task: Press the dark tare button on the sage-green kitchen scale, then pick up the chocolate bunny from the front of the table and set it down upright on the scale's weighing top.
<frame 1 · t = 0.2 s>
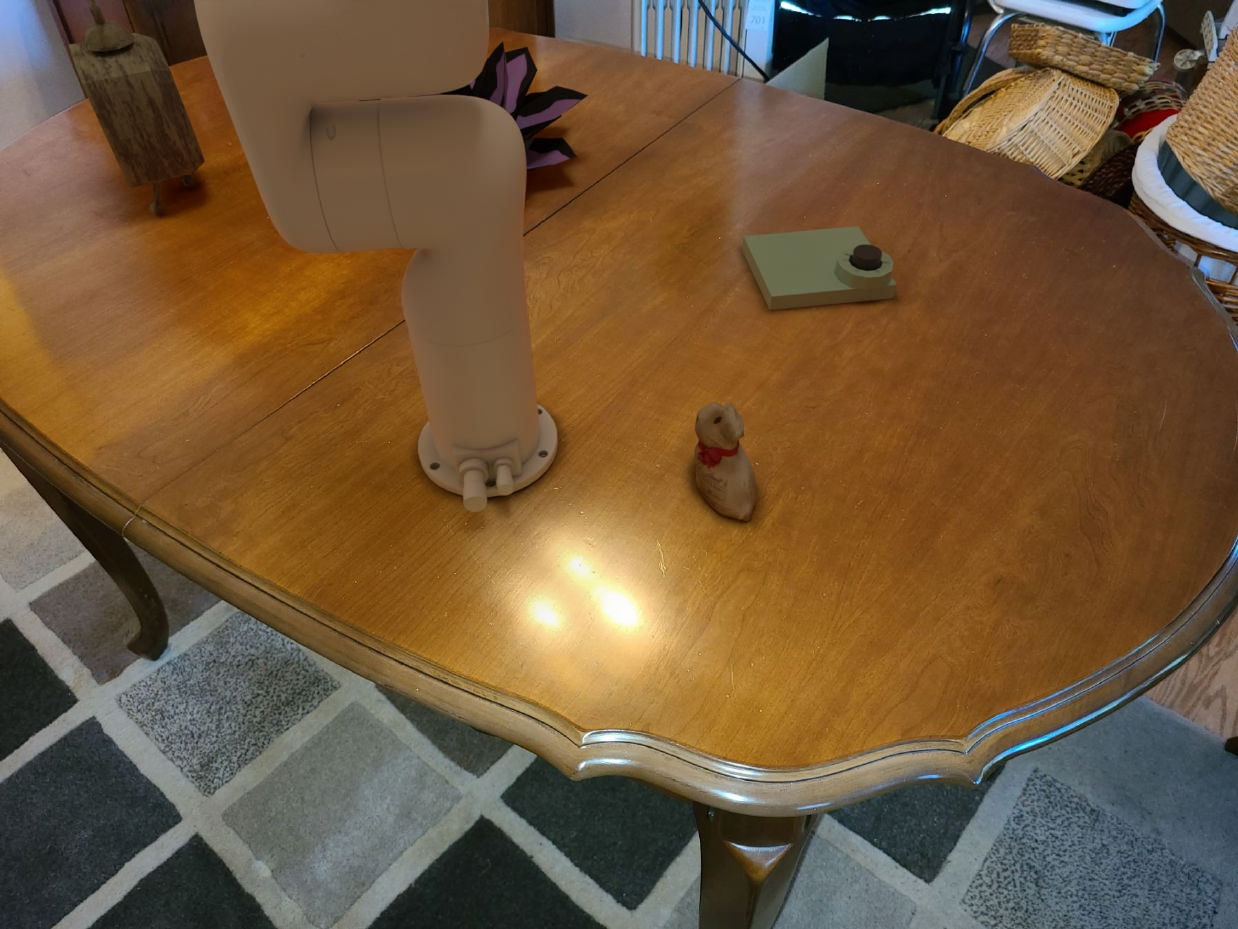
chocolate bunny: (722, 488, 74), on the table
tare button: (866, 257, 91), point 4 cm above the table, slide at 0.1 cm
decorative flower: (469, 162, 114), on the table
scale: (814, 273, 96), on the table
tabletop clock: (175, 191, 109), on the table
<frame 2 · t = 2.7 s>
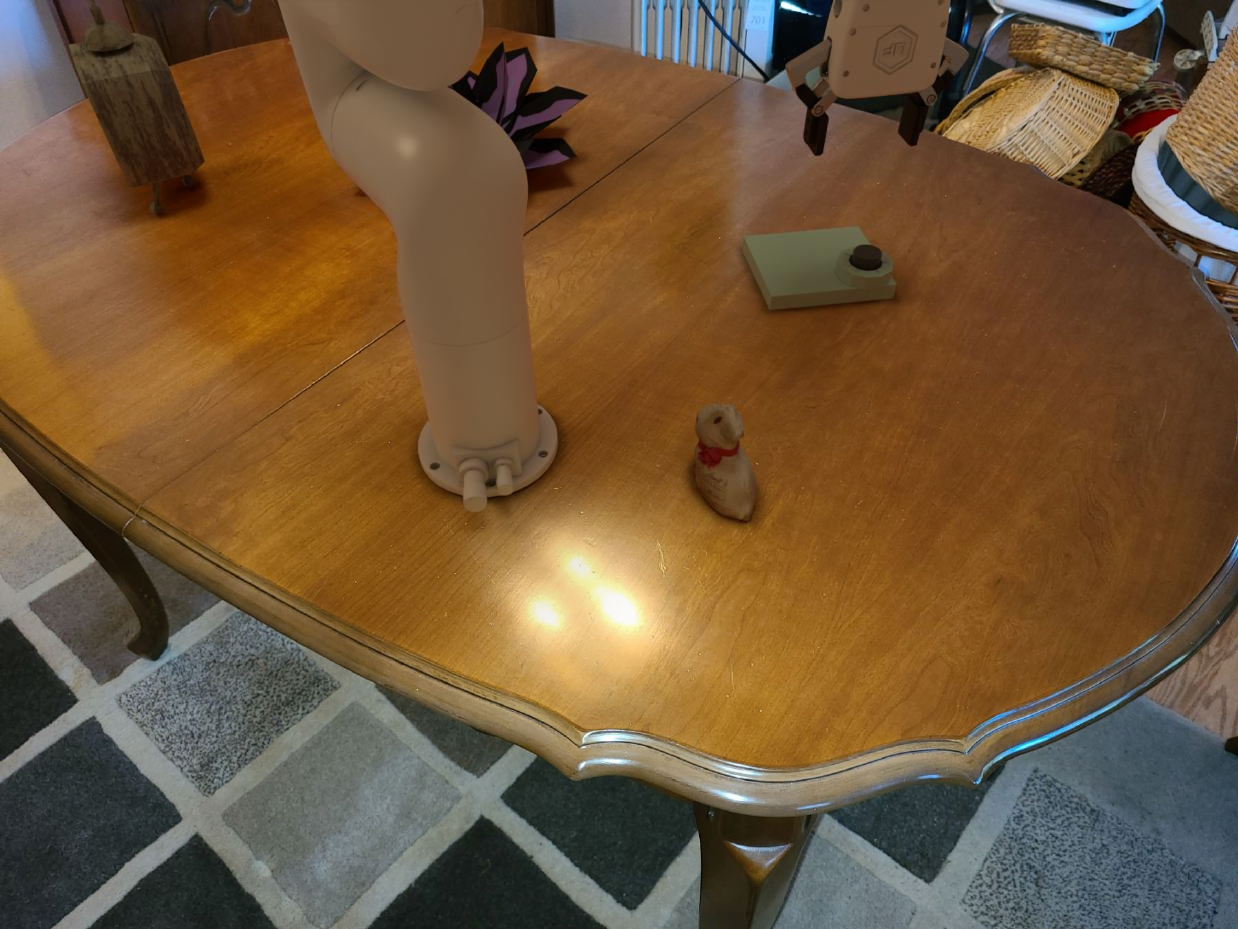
hand: (860, 144, 83), 16 cm above the table, tool pointing down, fingers open, 9 cm apart
nothing on the table moved.
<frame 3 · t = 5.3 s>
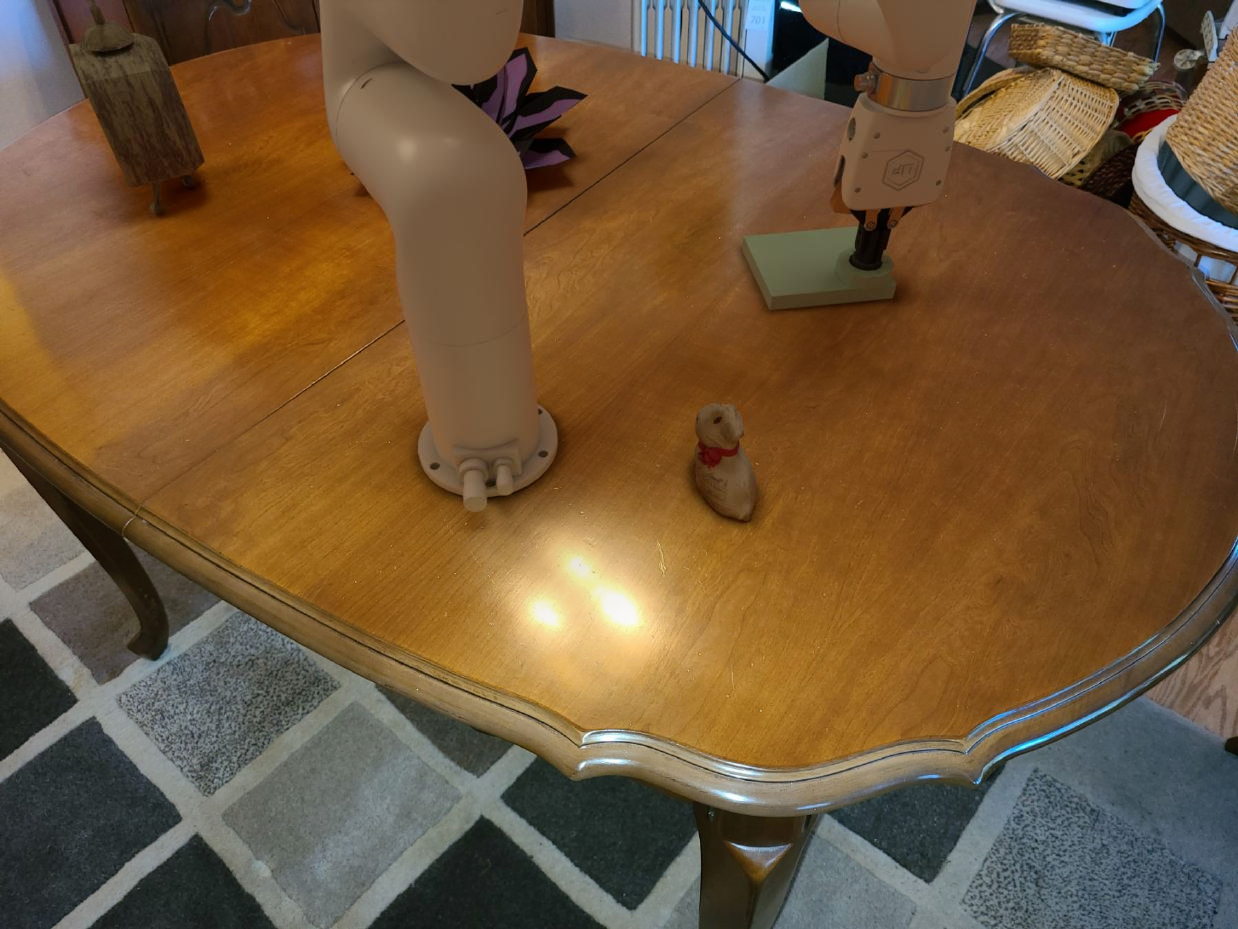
hand: (868, 255, 91), 4 cm above the table, tool pointing down, fingers closed
tare button: (865, 262, 91), point 3 cm above the table, slide at -0.4 cm, touching gripper
everything else where it was.
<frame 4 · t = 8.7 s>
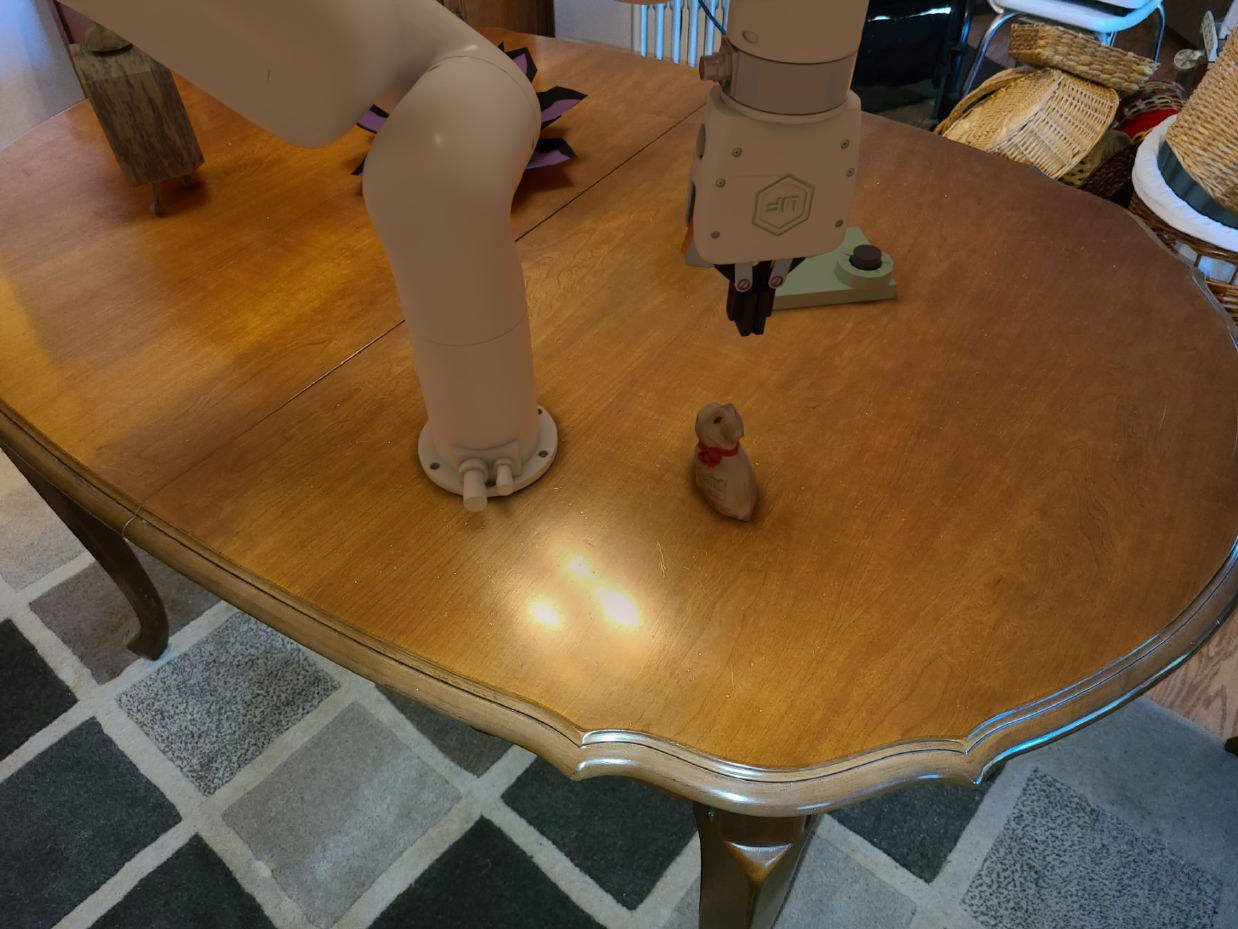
hand: (746, 323, 62), 17 cm above the table, tool pointing down, fingers closed
tare button: (866, 258, 91), point 4 cm above the table, slide at 0.1 cm
everything else where it was.
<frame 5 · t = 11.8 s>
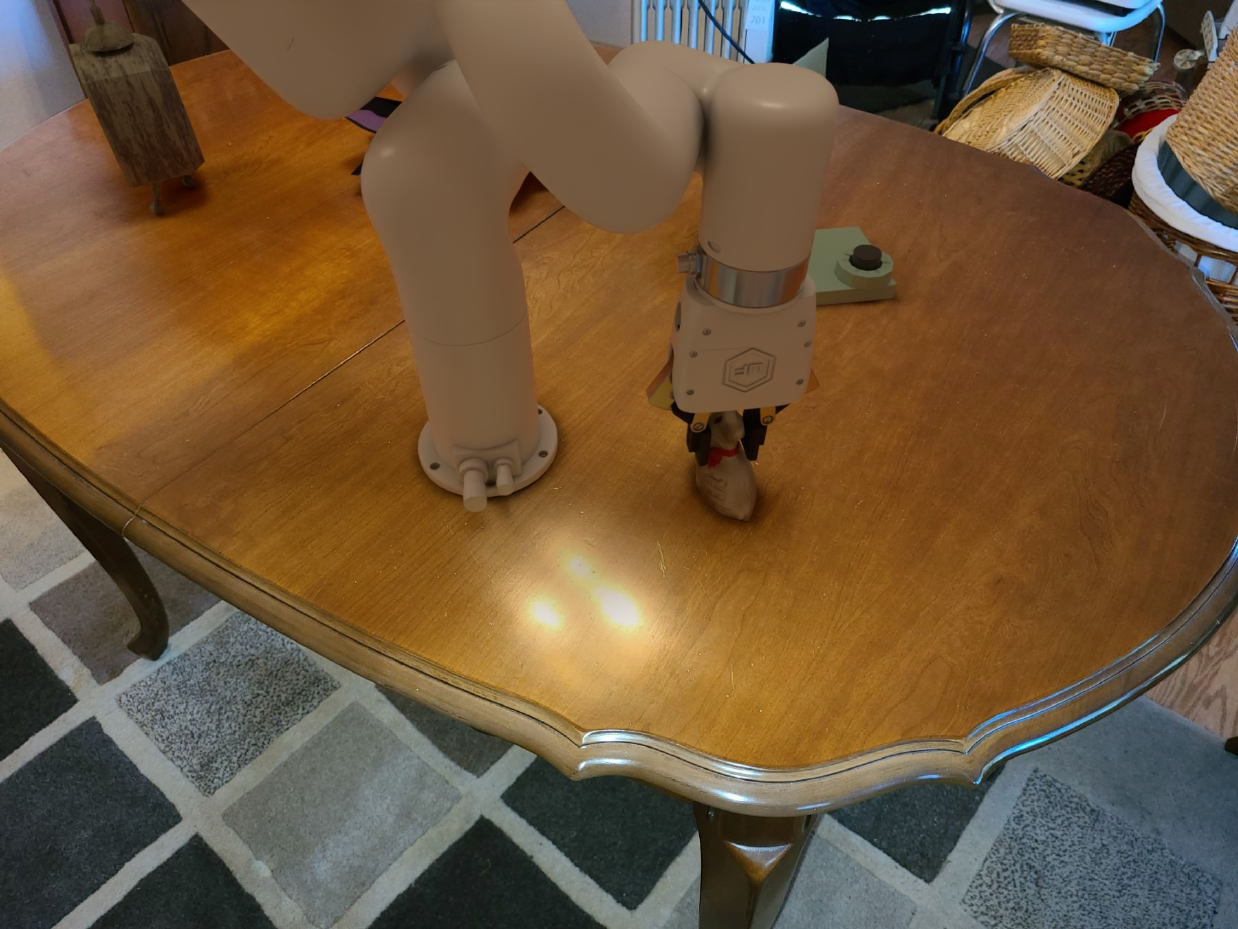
hand: (723, 450, 70), 5 cm above the table, tool pointing down, fingers closed on chocolate bunny, 3 cm apart
chocolate bunny: (722, 488, 74), on the table, touching gripper
everything else where it was.
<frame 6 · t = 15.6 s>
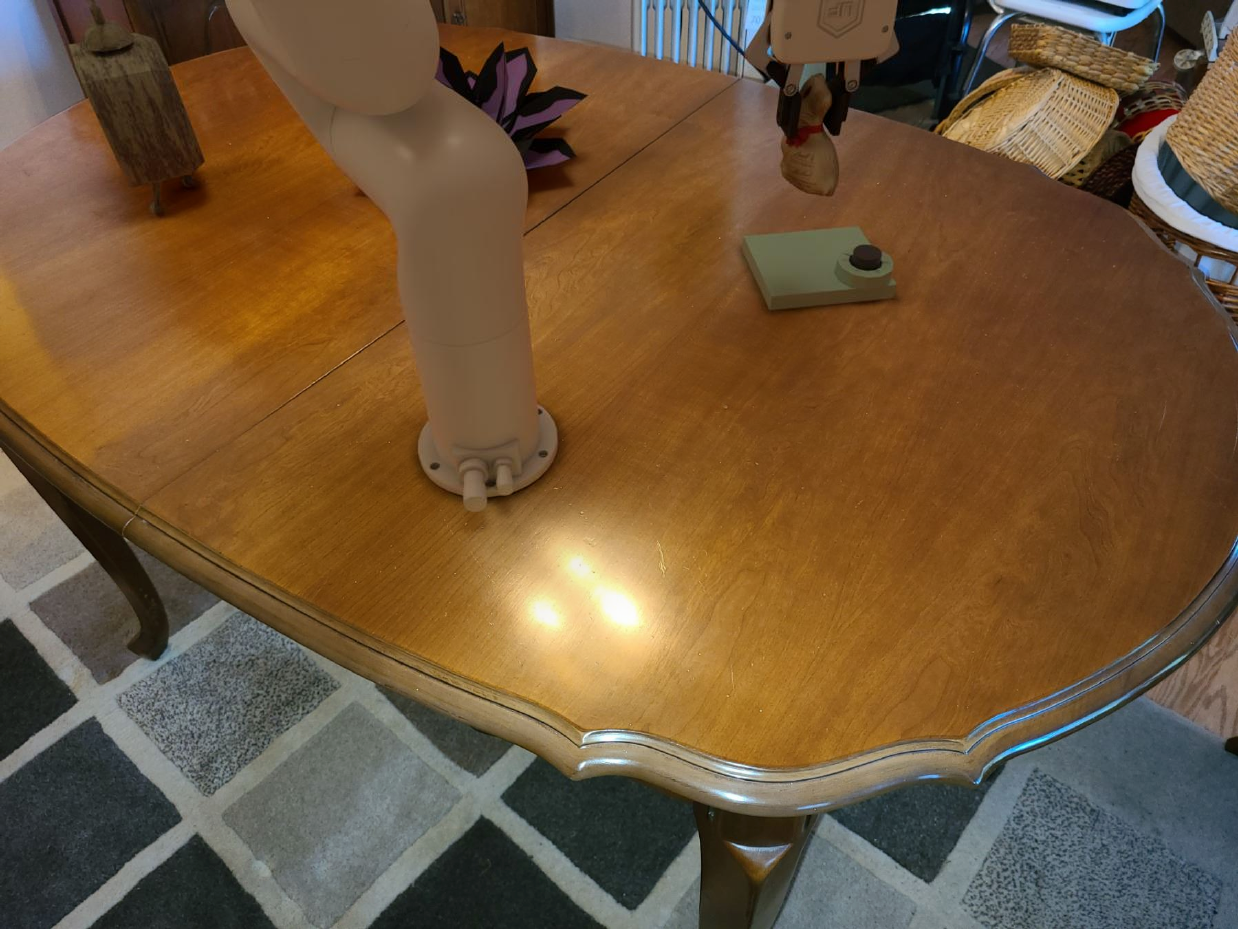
hand: (809, 128, 77), 19 cm above the table, tool pointing down, fingers closed on chocolate bunny, 3 cm apart
chocolate bunny: (806, 178, 81), point 15 cm above the table, touching gripper
everything else where it was.
when the fingers open (7 cm above the table, at t = 19.5 s): chocolate bunny stays where it is, resting on scale.
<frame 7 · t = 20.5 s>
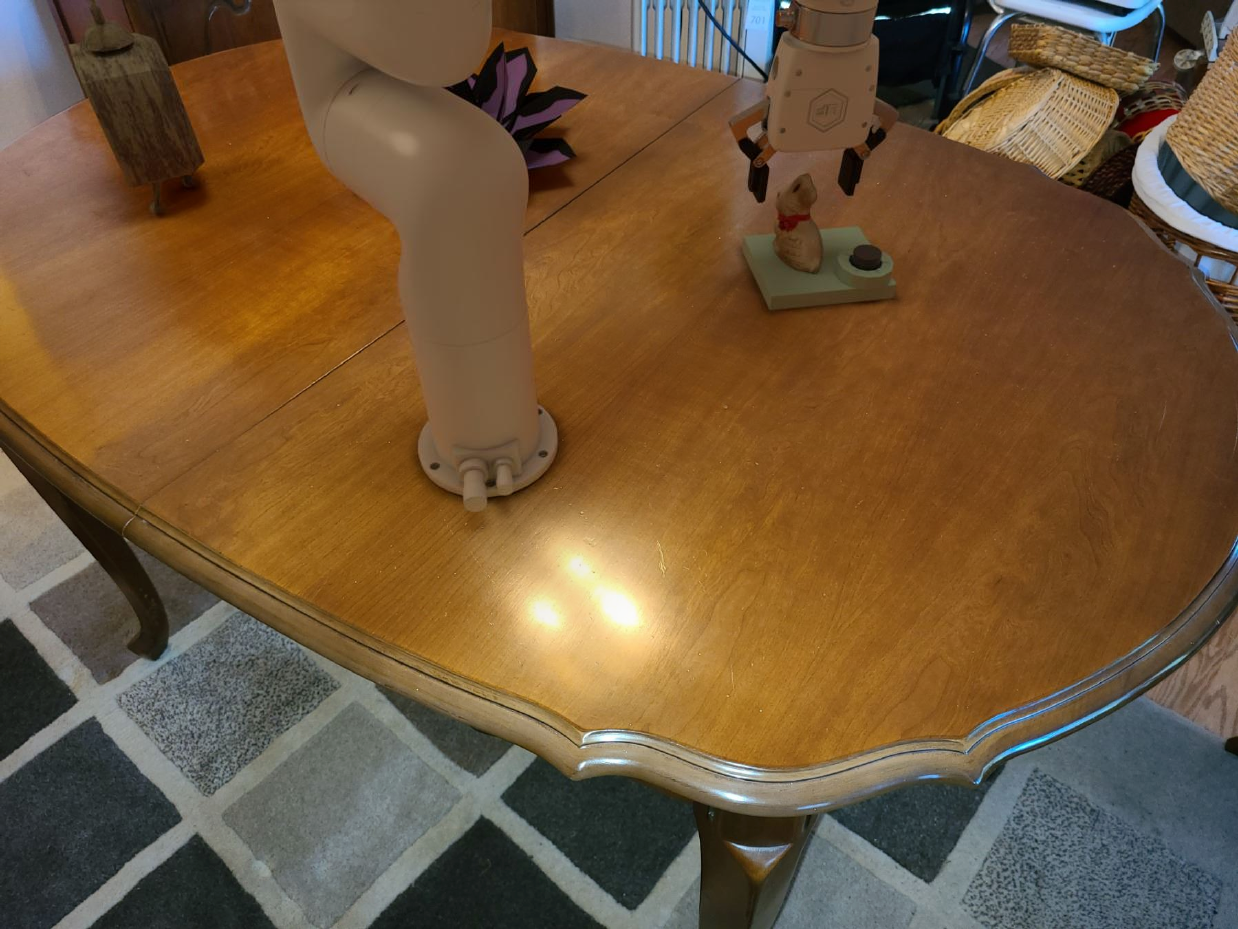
hand: (801, 193, 89), 9 cm above the table, tool pointing down, fingers open, 9 cm apart
chocolate bunny: (795, 255, 95), point 2 cm above the table, touching scale
everything else where it was.
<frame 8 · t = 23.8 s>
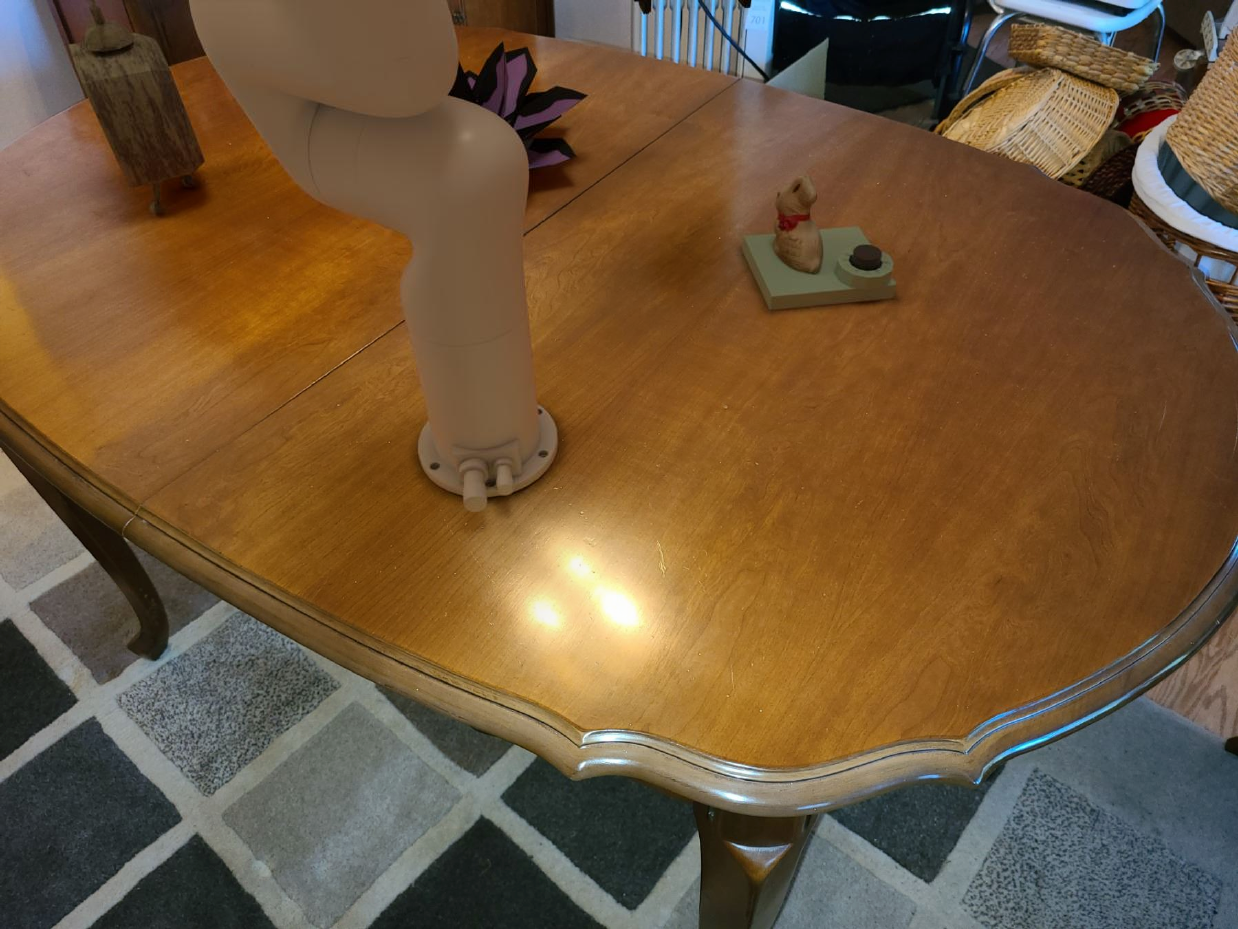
hand: (694, 6, 80), 26 cm above the table, tool pointing down, fingers open, 9 cm apart
nothing on the table moved.
at the end: tare button pushed in 0.9 cm at the most during the clip, back to where it started at the end; chocolate bunny inside the target area on the scale (2.5 cm from its centre), point 1.7 cm above the scale's base; chocolate bunny touching scale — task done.
